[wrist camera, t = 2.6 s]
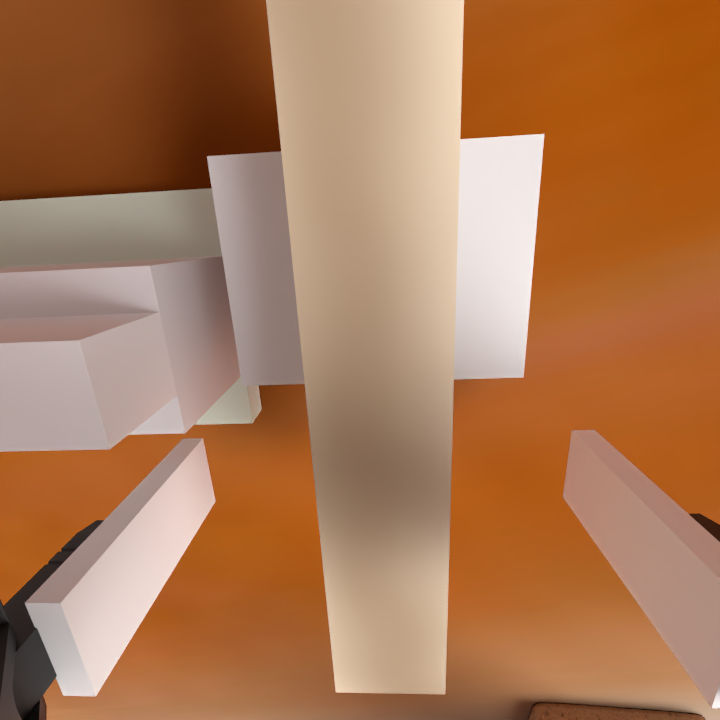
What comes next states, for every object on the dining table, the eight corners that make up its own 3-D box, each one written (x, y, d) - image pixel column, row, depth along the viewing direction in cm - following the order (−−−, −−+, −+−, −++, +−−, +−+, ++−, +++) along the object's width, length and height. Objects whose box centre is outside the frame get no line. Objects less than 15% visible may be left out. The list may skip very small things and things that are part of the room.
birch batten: (439, -386, 7) (487, -863, 4) (431, 595, 13) (445, 694, 10) (267, -361, 7) (185, -800, 4) (344, 595, 13) (335, 692, 11)
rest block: (473, 177, 16) (544, 133, 9) (467, 322, 17) (523, 377, 11) (278, 189, 16) (206, 155, 9) (293, 329, 18) (242, 385, 11)
